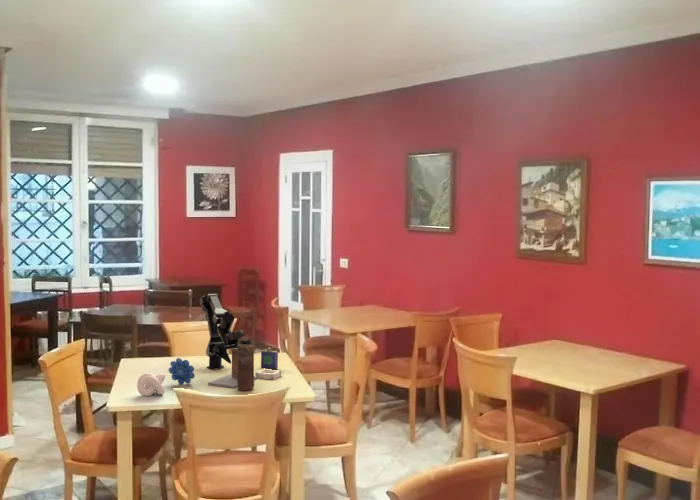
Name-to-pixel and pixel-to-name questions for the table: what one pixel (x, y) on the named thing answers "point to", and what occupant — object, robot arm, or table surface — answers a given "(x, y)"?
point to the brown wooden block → (234, 363)
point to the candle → (245, 367)
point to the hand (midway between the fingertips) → (239, 361)
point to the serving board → (226, 381)
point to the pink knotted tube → (150, 384)
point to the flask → (269, 359)
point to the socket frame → (268, 374)
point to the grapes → (181, 371)
